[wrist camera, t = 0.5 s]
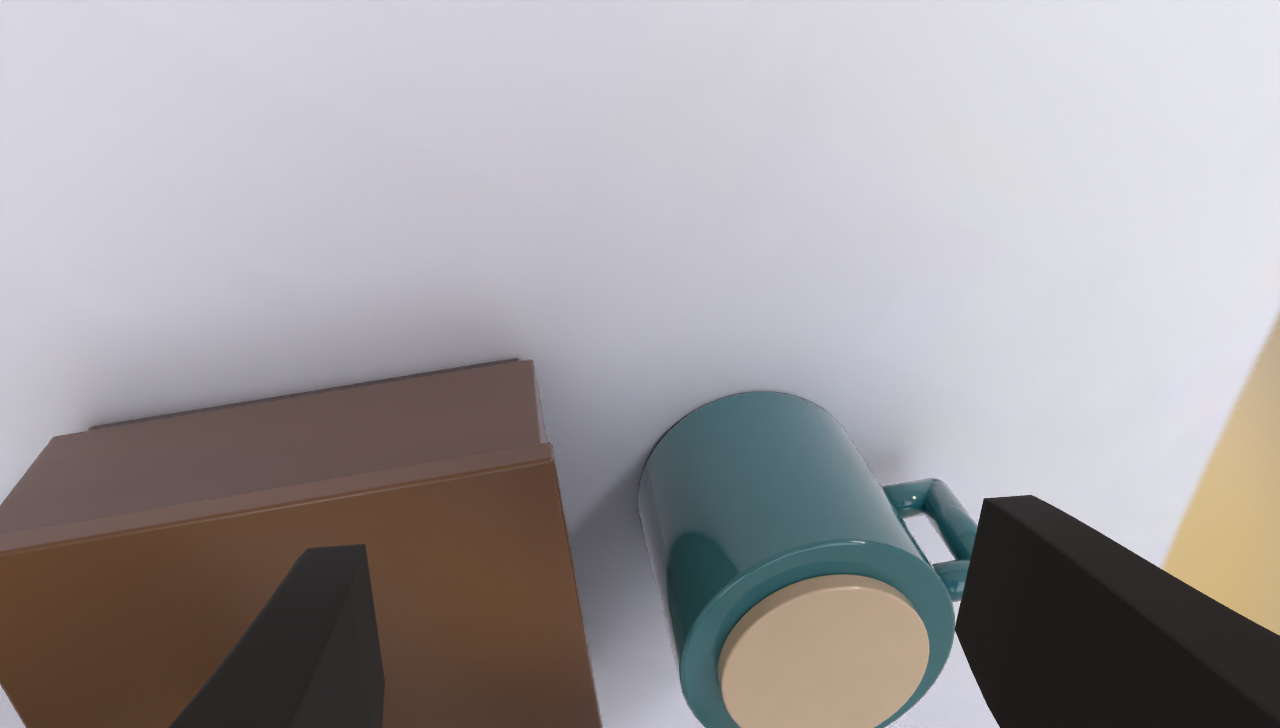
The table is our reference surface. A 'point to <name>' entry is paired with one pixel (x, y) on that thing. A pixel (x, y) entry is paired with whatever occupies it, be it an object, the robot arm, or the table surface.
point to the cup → (796, 569)
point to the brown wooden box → (281, 531)
